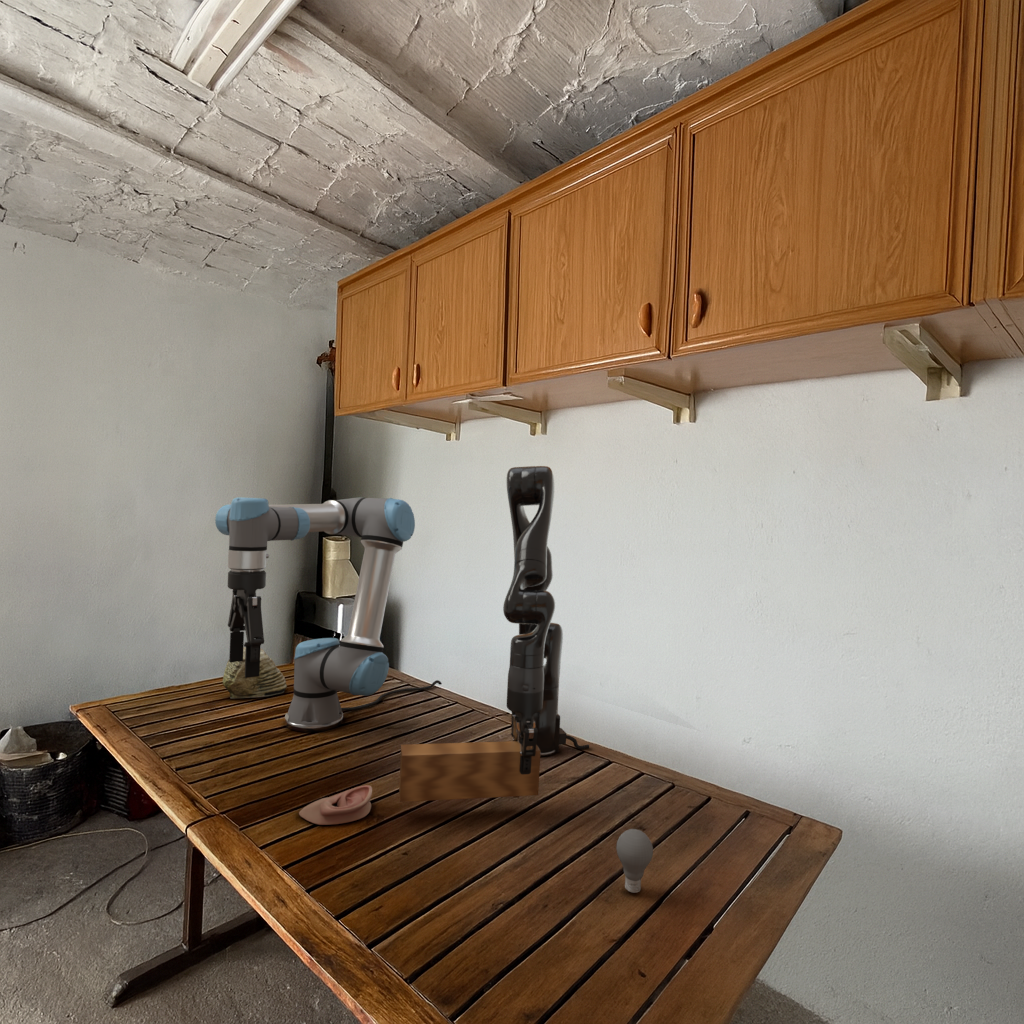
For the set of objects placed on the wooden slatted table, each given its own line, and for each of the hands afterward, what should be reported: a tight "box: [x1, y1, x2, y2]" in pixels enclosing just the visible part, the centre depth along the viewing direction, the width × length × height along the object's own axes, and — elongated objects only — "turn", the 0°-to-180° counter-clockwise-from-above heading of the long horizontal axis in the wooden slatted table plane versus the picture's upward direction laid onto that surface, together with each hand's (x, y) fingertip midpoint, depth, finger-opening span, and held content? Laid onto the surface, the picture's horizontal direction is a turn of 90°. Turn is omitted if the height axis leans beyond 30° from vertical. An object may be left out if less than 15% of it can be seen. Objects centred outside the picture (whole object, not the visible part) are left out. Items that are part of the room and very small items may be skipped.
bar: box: [398, 740, 541, 803], centre depth 129 cm, size 28×6×9 cm, turn 102°
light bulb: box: [615, 828, 654, 894], centre depth 106 cm, size 6×6×10 cm
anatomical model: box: [298, 784, 373, 826], centre depth 127 cm, size 13×4×12 cm
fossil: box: [222, 646, 288, 699], centre depth 198 cm, size 9×18×15 cm, turn 132°
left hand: (243, 668), depth 136 cm, fingers open, 13 cm apart
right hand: (521, 766), depth 131 cm, fingers closed on bar, 5 cm apart
